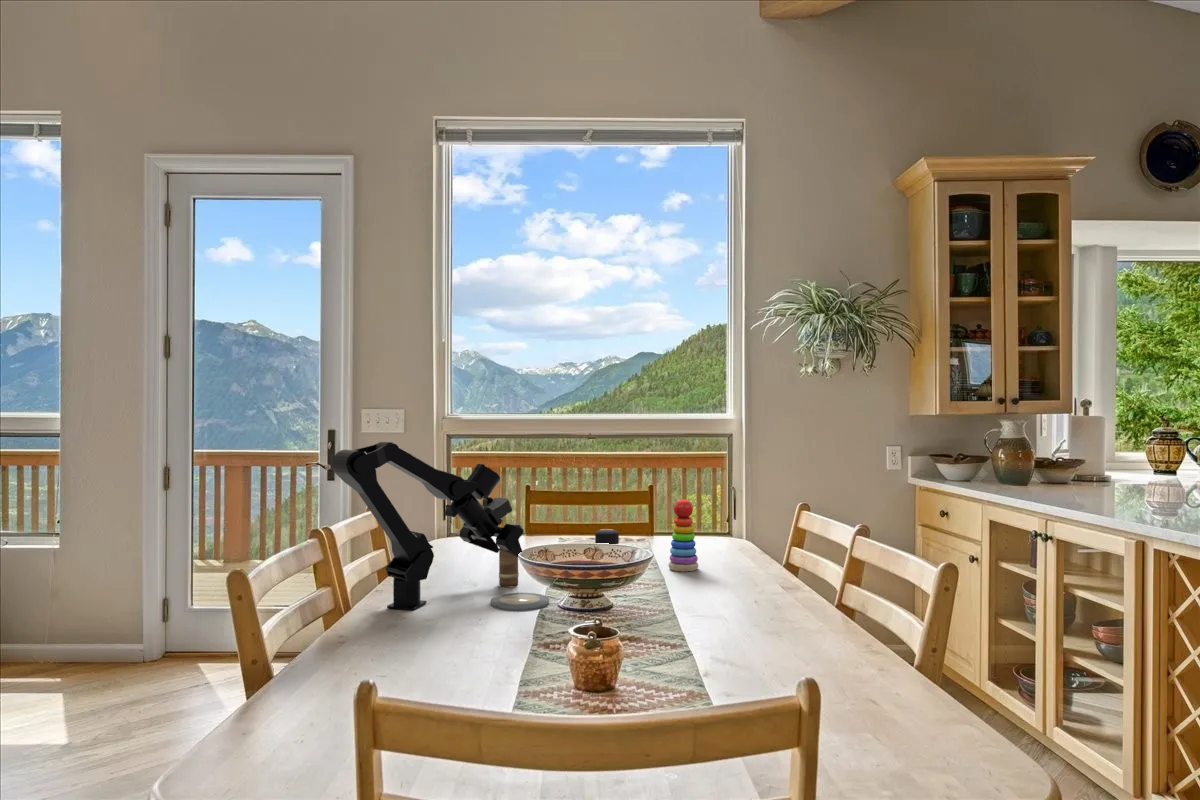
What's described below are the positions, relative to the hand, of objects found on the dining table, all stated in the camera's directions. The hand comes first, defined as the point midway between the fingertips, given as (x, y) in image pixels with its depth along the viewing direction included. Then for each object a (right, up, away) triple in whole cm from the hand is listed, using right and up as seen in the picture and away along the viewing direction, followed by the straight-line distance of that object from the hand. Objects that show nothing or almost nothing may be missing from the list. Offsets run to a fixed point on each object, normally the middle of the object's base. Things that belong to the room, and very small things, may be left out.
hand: (509, 553), depth 199 cm
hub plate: (+4, -8, -18) cm, 20 cm away
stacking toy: (+45, -8, +18) cm, 49 cm away
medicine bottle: (+24, -8, +9) cm, 27 cm away
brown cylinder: (0, -8, 0) cm, 8 cm away
